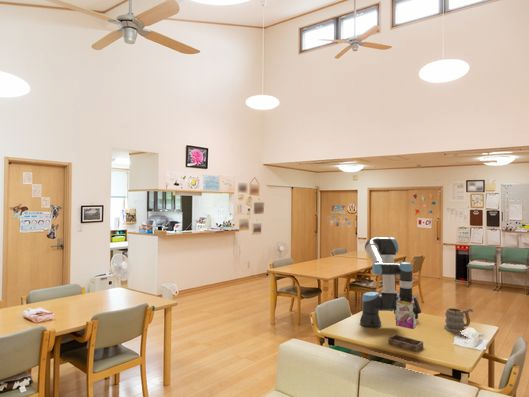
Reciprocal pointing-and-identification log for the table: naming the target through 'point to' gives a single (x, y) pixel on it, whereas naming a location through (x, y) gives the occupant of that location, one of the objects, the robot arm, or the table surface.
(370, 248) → the robot arm
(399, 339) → the holder tray
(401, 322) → the candy bar box
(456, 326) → the tankard
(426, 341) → the table surface
